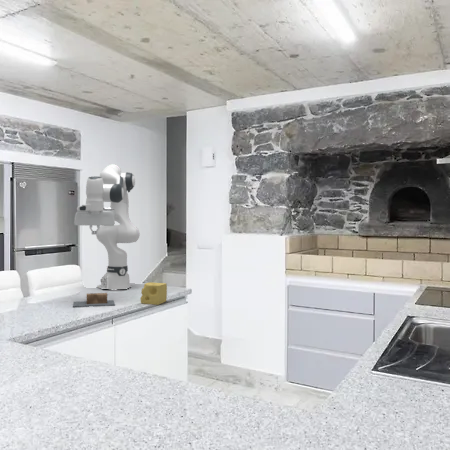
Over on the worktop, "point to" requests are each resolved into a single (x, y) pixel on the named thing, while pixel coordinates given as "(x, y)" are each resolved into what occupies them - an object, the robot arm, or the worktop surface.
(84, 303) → the slate mat
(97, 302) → the walnut block
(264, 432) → the worktop surface
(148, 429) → the worktop surface
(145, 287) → the cheese
